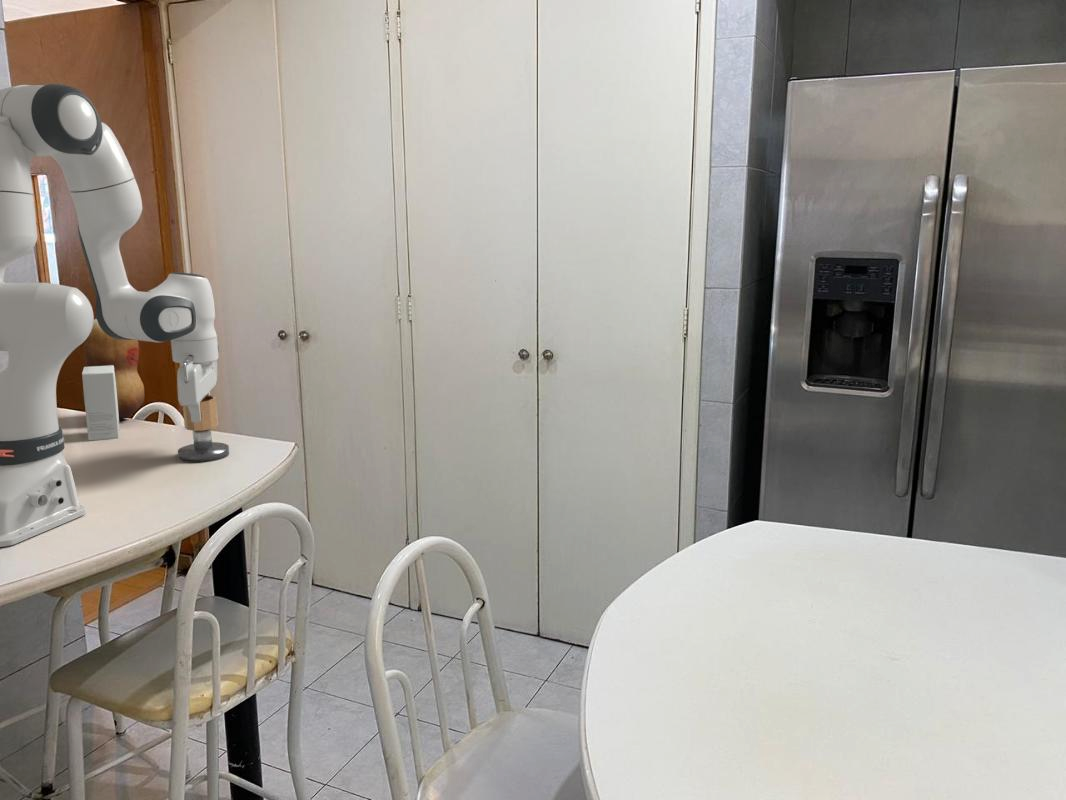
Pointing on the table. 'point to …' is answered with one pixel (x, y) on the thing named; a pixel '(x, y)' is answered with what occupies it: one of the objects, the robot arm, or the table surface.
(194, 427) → the sleeve
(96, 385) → the skincare box
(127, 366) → the butternut squash
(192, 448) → the duct stub
